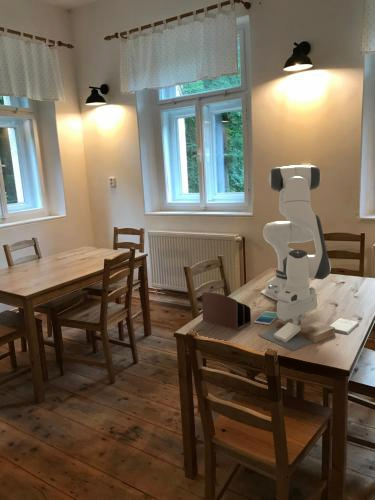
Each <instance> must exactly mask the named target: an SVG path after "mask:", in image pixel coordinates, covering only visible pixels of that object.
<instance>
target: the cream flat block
mask: <svg viewBox="0 0 375 500" xmlns="http://www.w3.org/2000/svg"><path fill="white" fill-rule="evenodd" d="M300 330H301V327H300V326H297V325H294V324H292V323H289V322H288V323H287V324H286V325H285V326H283V327H282V328H281V329H280V330H278V331H277V332H276V333H275V334H274V337H275V338H277V339H279V340H282V341H284V342H287V341H288V340H290V339H291V338H292V337H293V336H294V335H296V334H297V333H298V332H299V331H300Z"/></svg>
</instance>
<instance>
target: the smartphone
mask: <svg viewBox="0 0 375 500" xmlns="http://www.w3.org/2000/svg"><path fill="white" fill-rule="evenodd" d="M276 319H278V317H277V311H272V310H271V311H269V310H264V311H263V312H262V313H261V314H260V315H259V316H258V317H257V318H256V319H255V320H254V321H253V323H254V324H258V325H265V326H270V325H271V324H273V323H274V322H275V321H276Z"/></svg>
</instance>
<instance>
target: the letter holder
mask: <svg viewBox="0 0 375 500" xmlns="http://www.w3.org/2000/svg"><path fill="white" fill-rule="evenodd" d="M201 298H202V306H201V307H202V308H201V309H202V320H203V321H205V322H208V323H212V324H215V325H218V326H220V327H224V328H227V329H231V330H234V331H239V330H242V329H243V328H246V327H247V326H249V325H251V324H252V316H251V315H252V313H251V307H250V306H249V305H247V304H245V303H242V302H239V301H237V300H236V299H235V298H232V297H230V296H227V295H223V294H219V293H216V292H207V291H205V292H204V291H203V292H202V297H201Z"/></svg>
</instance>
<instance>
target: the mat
mask: <svg viewBox="0 0 375 500" xmlns="http://www.w3.org/2000/svg"><path fill="white" fill-rule="evenodd" d="M278 330H280V328H276V327H275V328H272V329H271V330H270V329H269V330H267V331H265V332H262V333H260V334H258V336H259V337H261V338H263V339H264V340H267V341H270V342H272V343H274V344H277V345H278V346H281V347H283V348H286V349H288V350H290V351H292V352H294V351H297V350H299V349H301V348H303V347H306V346H308V345H310V344H313V341H310V340H308V339H305V338H303V337H300V336H298V335H294V336H293V337H292V338H291V339H290V340H288V341H287V342H284V341H282V340H279V339H277V338H275V337H274V334H275V333H276V332H277V331H278Z"/></svg>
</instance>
